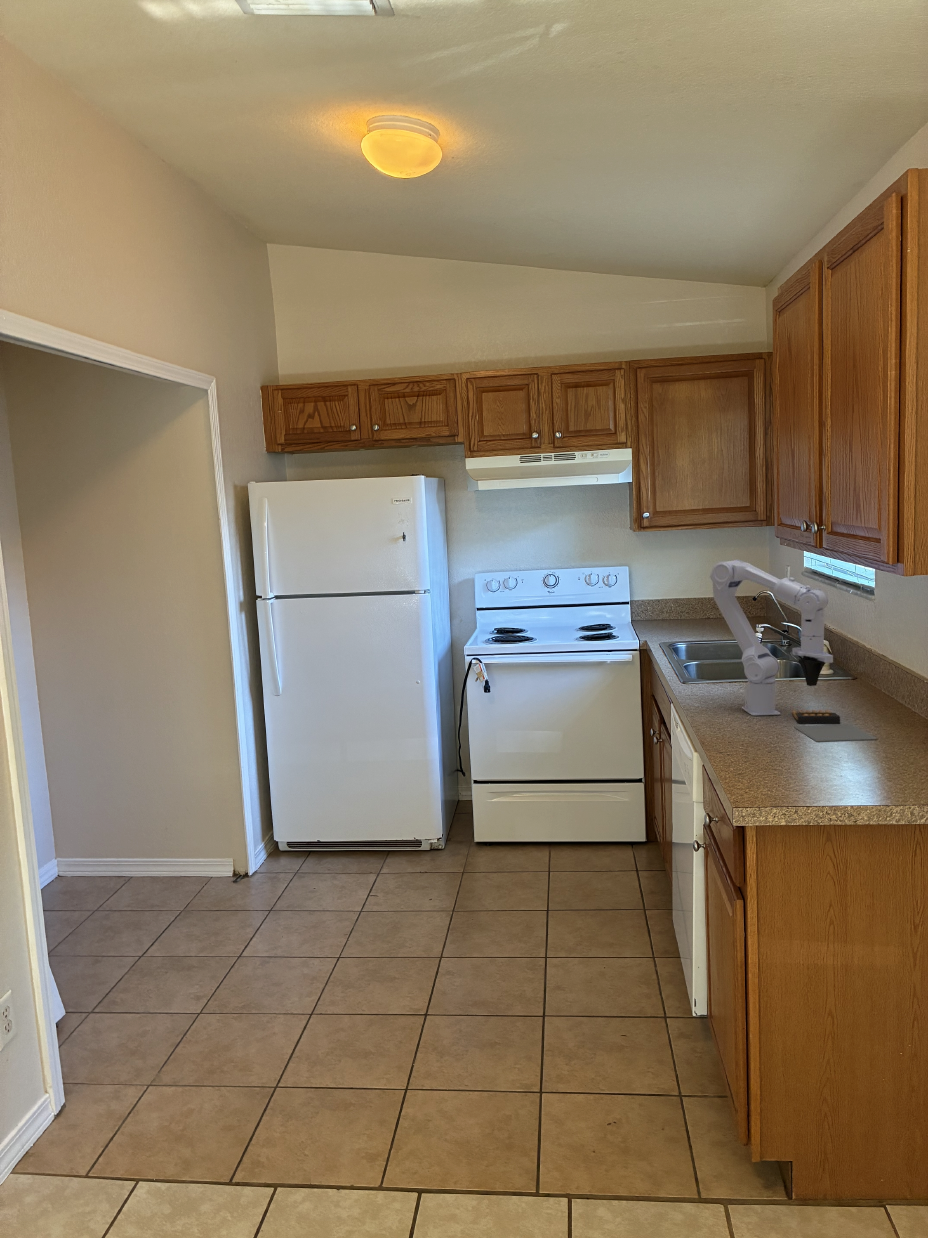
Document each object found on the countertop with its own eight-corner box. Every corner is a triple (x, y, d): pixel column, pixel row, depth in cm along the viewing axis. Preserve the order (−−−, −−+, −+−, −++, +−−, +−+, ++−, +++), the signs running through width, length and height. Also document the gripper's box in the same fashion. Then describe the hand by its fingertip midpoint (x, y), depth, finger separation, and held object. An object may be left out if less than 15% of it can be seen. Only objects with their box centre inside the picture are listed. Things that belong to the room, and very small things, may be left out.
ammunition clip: (840, 723, 245) (829, 714, 256) (840, 716, 244) (829, 707, 256) (797, 723, 246) (789, 714, 258) (798, 716, 246) (789, 707, 258)
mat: (793, 727, 243) (793, 726, 243) (850, 725, 243) (850, 724, 243) (816, 742, 228) (816, 741, 228) (877, 740, 228) (877, 738, 228)
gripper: (783, 632, 253) (782, 681, 255) (817, 640, 239) (816, 691, 241) (805, 631, 255) (804, 679, 257) (840, 638, 241) (839, 689, 243)
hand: (811, 685), depth 249 cm, fingers closed
